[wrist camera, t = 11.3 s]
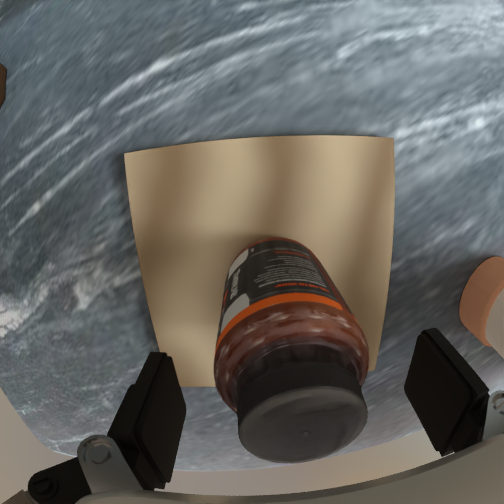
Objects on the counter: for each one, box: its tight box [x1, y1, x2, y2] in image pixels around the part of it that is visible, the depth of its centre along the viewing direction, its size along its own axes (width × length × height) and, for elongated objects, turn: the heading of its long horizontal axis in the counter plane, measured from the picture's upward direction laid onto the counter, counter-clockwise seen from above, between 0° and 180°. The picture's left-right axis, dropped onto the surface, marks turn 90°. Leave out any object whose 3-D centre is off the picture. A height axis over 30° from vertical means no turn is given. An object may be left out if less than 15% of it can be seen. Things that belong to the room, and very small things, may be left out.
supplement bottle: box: [213, 237, 370, 463], centre depth 13 cm, size 6×6×11 cm
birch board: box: [124, 135, 395, 387], centre depth 19 cm, size 16×17×1 cm
